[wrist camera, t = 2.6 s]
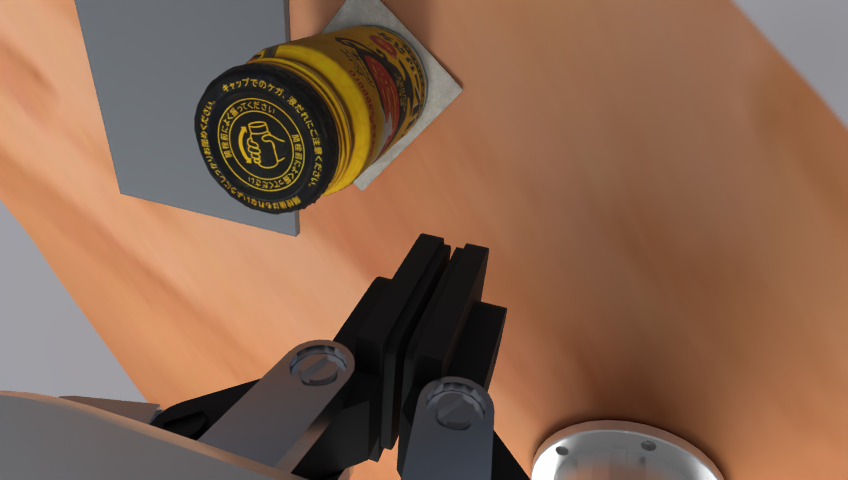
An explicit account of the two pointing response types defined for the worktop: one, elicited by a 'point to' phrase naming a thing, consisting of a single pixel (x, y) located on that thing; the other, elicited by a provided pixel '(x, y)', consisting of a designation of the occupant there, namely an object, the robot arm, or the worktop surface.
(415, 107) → the condiment
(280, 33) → the mat
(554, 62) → the worktop surface
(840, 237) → the worktop surface
